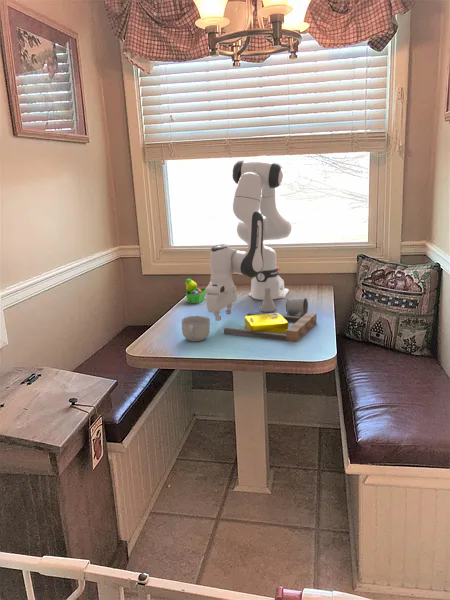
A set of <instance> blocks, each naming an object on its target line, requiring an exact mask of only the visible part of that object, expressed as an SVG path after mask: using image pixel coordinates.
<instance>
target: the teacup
mask: <svg viewBox="0 0 450 600" xmlns="http://www.w3.org/2000/svg"><path fill="white" fill-rule="evenodd" d="M210 322H211V319H210V318H209V317H206V316H201V315H190V316H186V317H183V318H181V332H182V333H181V334H182V336H183V337H184V338H185V339H186V340H188V341H189V342H202V341H204V340H205V339H206V338H207V337H208V336H209V335H210V326H211V325H210V324H211V323H210Z"/></svg>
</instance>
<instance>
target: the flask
mask: <svg viewBox="0 0 450 600" xmlns="http://www.w3.org/2000/svg"><path fill="white" fill-rule="evenodd" d="M264 290H265V295H264V299H263V300H262V303H261V306H260V309H259V310H260V312H264V313H265V312H266V313H273V312H275V311H277V308H276V306H275V303H274V299H272V297H271V288H264Z"/></svg>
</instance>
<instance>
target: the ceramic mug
mask: <svg viewBox="0 0 450 600" xmlns="http://www.w3.org/2000/svg"><path fill="white" fill-rule="evenodd" d="M308 309H309V303H308V299H307V298H306V297H290V298H287V300H286V302H285V312H286V316H294V317H303V316H304V315H305V314H306V313H309V312H308V311H309V310H308Z"/></svg>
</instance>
